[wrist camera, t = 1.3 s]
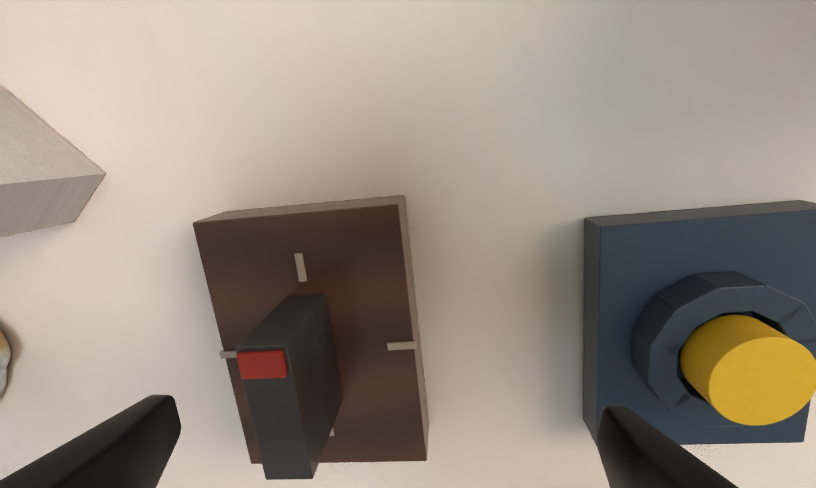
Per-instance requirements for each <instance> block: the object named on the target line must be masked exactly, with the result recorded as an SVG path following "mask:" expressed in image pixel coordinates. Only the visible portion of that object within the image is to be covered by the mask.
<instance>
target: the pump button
mask: <svg viewBox="0 0 816 488" xmlns="http://www.w3.org/2000/svg"><path fill="white" fill-rule="evenodd" d="M680 366H681V370H682V373H683V375H684V377H685V379H686V380H687V381H688V382H689V383H690V384H691V385H692V386H693V387H694V388H695V389H696V390H697V391H698V392H699V393H700V394H701V395H702V396H703V397H704V398H705V399H706V400H707V401H708V402H709V403H710V404H711V405H712V406H713V407H714V408H715V409H716V410H717V411H718V412H719V413H720V414H721V415H722V416H724V417H725V418H727V419H729V420H731V421H733V422H736V423H740V424H744V425H754V426H758V425H767V424H772V423H776V422H779V421H782V420H784V419H786V418H788V417H790V416H792V415H793V414H795V413H797V412H798V411H799V410H800V409H802V408H803V407H804V406H805V405H806V404H807V403H808V401H809V400H810V399H811V397H812V396H813V394H814V392H815V390H816V360H815V358H814V357H813V355H812V354H811V353H810V352H809V351H808V350H807V349H806V348H805V347H804V346H803V345H801V344H799V343H798V342H796V341H794V340H792V339H791V338H789V337H787V336H786V335H784V334H782V333H780V332H779V331H777V330H775V329H773V328H772V327H770V326H768V325H766V324H765V323H763V322H761V321H759V320H758V319H755V318H753V317H749V316H744V315H726V316H721V317H718V318H715V319H712V320H710V321H707V322H706V323H704V324H702V325H701V326H699V327H698V328H697V329H696V330H694V331H693V332H692V333H691V335H690V336H689V337H688V338H687V340H686V341H685V343H684V345H683V347H682V350H681V354H680Z"/></svg>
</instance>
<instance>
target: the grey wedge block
mask: <svg viewBox="0 0 816 488" xmlns="http://www.w3.org/2000/svg"><path fill="white" fill-rule="evenodd" d="M105 174H106V173H105V172H103V171H102V170H101V169H100V168H99V167H98V166H96V165H95V164H94V163H93V162H92V161H90V160H89V159H88V158H87V157H86V156H84V155H83V154H82V153H81V152H80V151H79V150H77V149H76V148H75V147H74V146H73V145H71V144H70V143H69V142H68V141H67V140H65V139H64V138H63V137H62V136H61V135H60V134H58V133H57V132H56V131H55V130H54V129H52V128H51V127H50V126H49V125H48V124H47V123H45V122H44V121H43V120H42V119H41V118H39V117H38V116H37V115H36V114H35V113H33V112H32V111H31V110H30V109H29V108H28V107H26V106H25V105H24V104H23V103H22V102H20V101H19V100H18V99H17V98H16V97H14V96H13V95H12V94H11V93H10V92H9V91H7V90H6V89H5V88H4V87H3V86H0V238H1V237H6V236H10V235H15V234H19V233H24V232H28V231H33V230H37V229H41V228H46V227H50V226H55V225H59V224H64V223H68V222H73V221H75V220H76V218H77V217H78V215H79V214H80V212H81V211H82V209H83V208H84V206H85V205H86V203H87V202H88V200H89V199H90V197H91V196H92V194H93V193H94V191H95V189H96V188H97V186H98V185H99V183H100V182H101V180H102V179H103V177H104V176H105Z"/></svg>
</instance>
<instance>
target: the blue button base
mask: <svg viewBox="0 0 816 488" xmlns="http://www.w3.org/2000/svg"><path fill="white" fill-rule="evenodd" d="M726 315H744V316H749V317H753V318H755V319H758V320H759V321H761V322H763V323H765V324H766V325H768V326H770V327H772V328H773V329H775V330H777V331H779V332H780V333H782V334H784V335H786V336H787V337H789V338H791V339H792V340H794V341H796V342H798V343H799V344H801V345H803V346H804V347H805V348H806V349H807V350H808V351H809V352H810V353H811V354H812V355H813V357H814V358H815V360H816V203H813V202H807V201H801V200H797V201H784V202H772V203H760V204H748V205H736V206H723V207H711V208H699V209H687V210H675V211H662V212H650V213H638V214H626V215H614V216H601V217H589V218H585V219H584V359H583V419H584V421H585V423H586V425H587V427H588V429H589V431H590V434H591V436H592V438H593V440H594V442H595V444H596V446H597V441H596V439H597V432H598V427H599V423H600V419H601V414H602V411H603V409H604V407H606V406H623V407H627V408H628V409H630V410H631V411H633V412H634V413H636V414H637V415H638V416H640V417H641V418H642V419H644V420H645V421H647V422H648V423H649V424H651V425H652V426H654V427H655V428H656V429H658V430H659V431H660V432H662V433H663V434H665V435H666V436H667V437H669V438H670V439H672V440H673V441H674V442H676V443H677V444H679V445H688V444H739V443H790V442H803V441H804V436H805V430H806V424H807V418H808V412H809V407H810V401H811V399H810V400H809V401H808V403H807V404H806V405H805V406H804V407H803V408H802V409H800V410H799V411H798V412H797V413H795V414H793V415H792V416H790V417H788V418H786V419H784V420H782V421H779V422H776V423H772V424H767V425H758V426H754V425H744V424H740V423H736V422H733V421H731V420H729V419H727V418H725V417H724V416H722V415H721V414H720V413H719V412H718V411H717V410H716V409H715V408H714V407H713V406H712V405H711V404H710V403H709V402H708V401H707V400H706V399H705V398H704V397H703V396H702V395H701V394H700V393H699V392H698V391H697V390H696V389H695V388H694V387H693V386H692V385H691V384H690V383H689V382H688V381H687V380H686V379H685V377H684V375H683V373H682V370H681V366H680V354H681V350H682V347H683V345H684V343H685V341H686V340H687V338H688V337H689V336H690V335H691V333H692V332H693V331H694V330H696V329H697V328H698V327H699V326H701V325H702V324H704V323H706V322H707V321H710V320H712V319H715V318H718V317H721V316H726Z"/></svg>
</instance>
